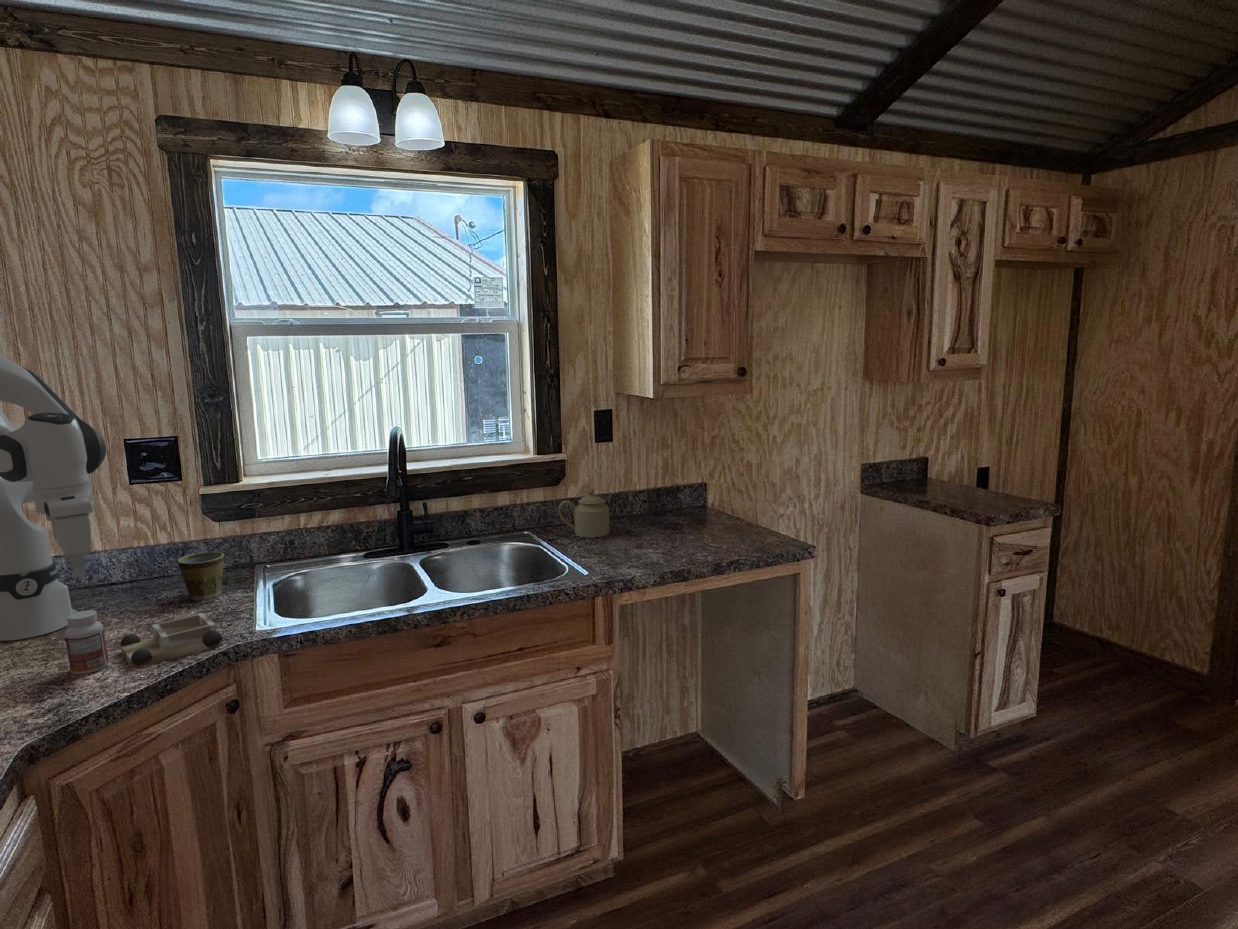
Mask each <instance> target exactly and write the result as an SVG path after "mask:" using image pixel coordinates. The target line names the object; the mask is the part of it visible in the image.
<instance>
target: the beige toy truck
mask: <svg viewBox="0 0 1238 929" xmlns="http://www.w3.org/2000/svg"><path fill="white" fill-rule="evenodd" d="M216 626H217V625H216V623H214V622H213V621H212V620H211V619H210V618H209V617H208V616H207V615H206V614H205V613H204V612H200V613H196V614H193V615H188V616H184V617H179V618H175V619H172V620H166V621H164V622H163V621H162V622H159V623H155V624H151V630H152V637H150V638H147V639H143V640H141V638H140V637H139V636H138V635H137V634H134V633H130V634H127V635H125V636H124V637H122V638H121V641H120V650H121V654H122V655H123V657H124V659H125V660H126V661H127V662H128V664H129V666H130V665H131V666H130V667H131V668H132V669H133V668H135V669H138V668H142V667H145V666H144V665H146V666H148V665H147V664H150V665H153V664H156V663H155V662H157V663H159V662H158V661H161V662H165V661H168V660H172V659H175V658H180V657H183V656H187V655H189V654H190V655H191V654H194V653H198V652H201V651H205V650H209V649H212V648H216V647H221V646H223V639H222V634H221V633H220V632H218V631H217V628H216ZM141 666H142V667H141ZM137 667H138V668H137Z"/></svg>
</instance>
